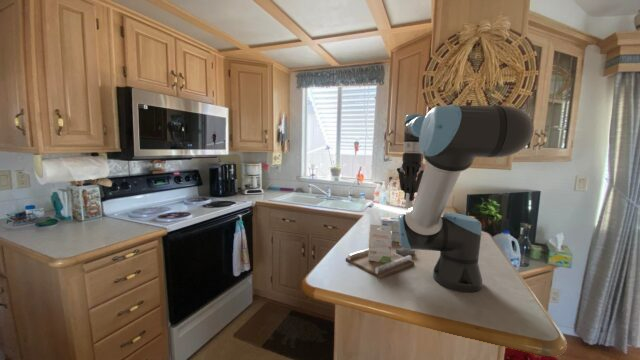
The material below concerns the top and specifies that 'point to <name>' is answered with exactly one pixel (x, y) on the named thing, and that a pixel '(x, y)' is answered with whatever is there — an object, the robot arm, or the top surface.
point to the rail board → (371, 265)
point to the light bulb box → (394, 226)
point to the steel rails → (382, 267)
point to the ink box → (380, 243)
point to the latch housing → (405, 251)
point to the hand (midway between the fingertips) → (408, 207)
